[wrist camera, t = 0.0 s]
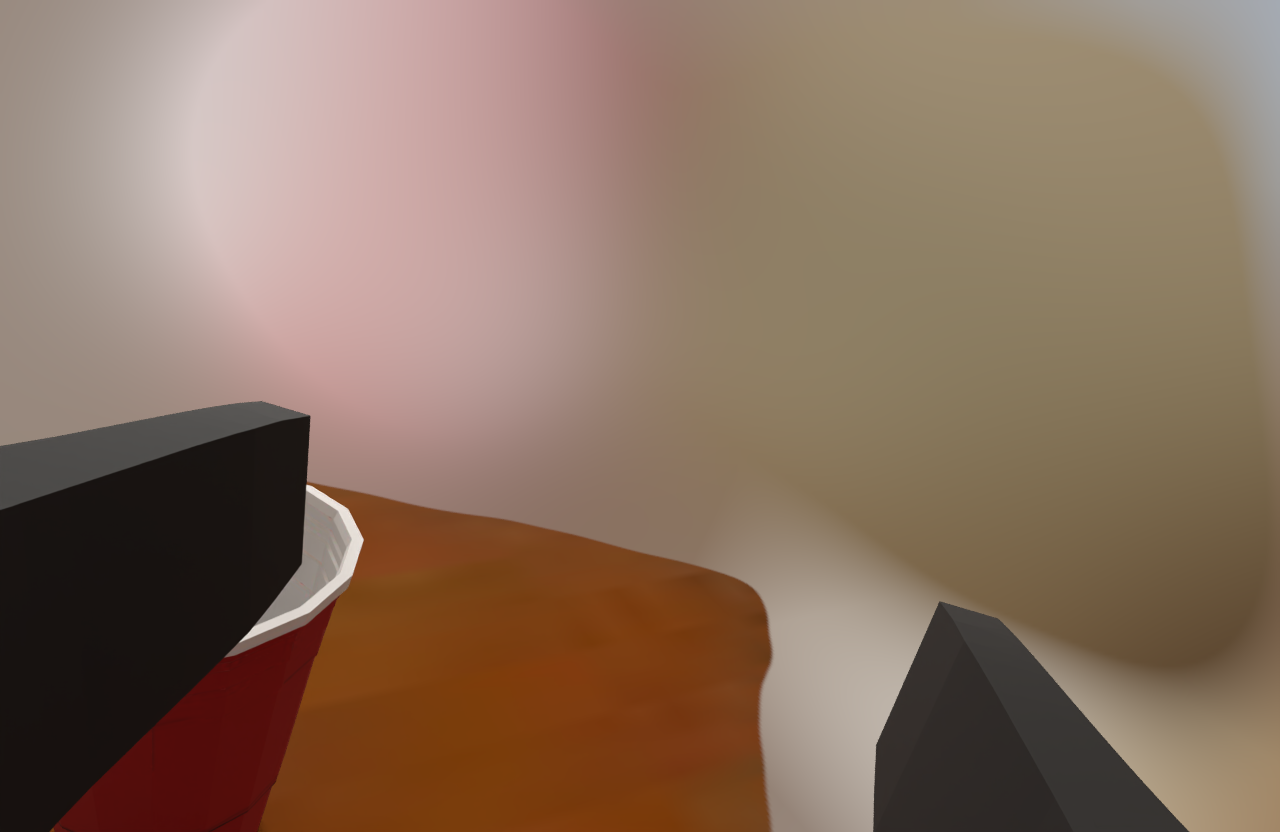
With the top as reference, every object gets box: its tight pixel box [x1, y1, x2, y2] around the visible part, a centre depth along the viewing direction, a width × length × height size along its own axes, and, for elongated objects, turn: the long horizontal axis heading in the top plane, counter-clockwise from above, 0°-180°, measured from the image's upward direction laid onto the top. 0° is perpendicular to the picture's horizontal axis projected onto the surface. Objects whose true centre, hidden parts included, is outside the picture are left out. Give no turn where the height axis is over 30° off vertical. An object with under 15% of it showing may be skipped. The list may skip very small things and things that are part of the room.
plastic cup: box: [54, 485, 363, 832], centre depth 27 cm, size 11×11×12 cm
